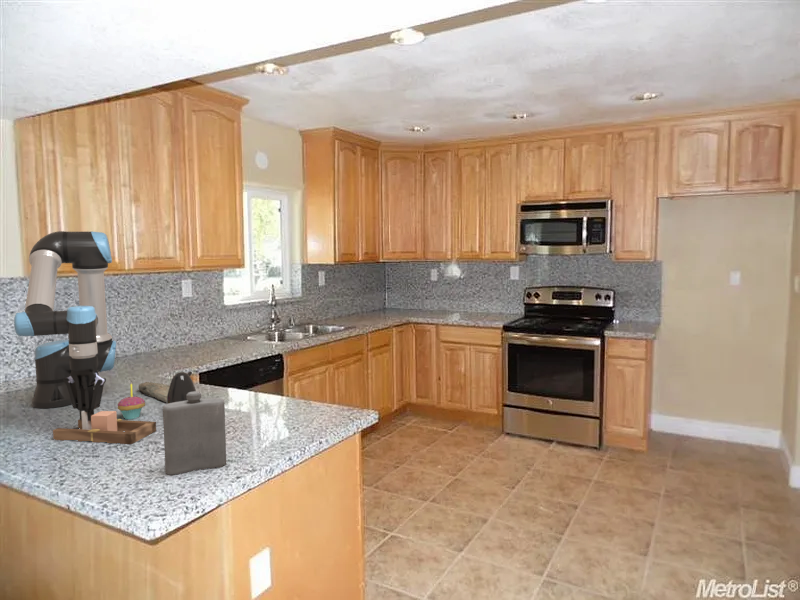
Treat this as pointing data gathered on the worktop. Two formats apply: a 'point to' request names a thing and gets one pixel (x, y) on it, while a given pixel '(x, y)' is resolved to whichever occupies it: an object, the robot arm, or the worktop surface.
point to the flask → (194, 434)
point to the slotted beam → (109, 432)
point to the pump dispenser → (180, 387)
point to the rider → (104, 421)
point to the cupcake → (131, 406)
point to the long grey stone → (155, 390)
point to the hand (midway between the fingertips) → (87, 430)
